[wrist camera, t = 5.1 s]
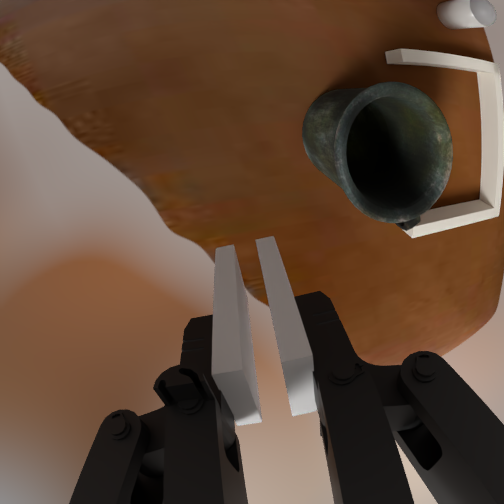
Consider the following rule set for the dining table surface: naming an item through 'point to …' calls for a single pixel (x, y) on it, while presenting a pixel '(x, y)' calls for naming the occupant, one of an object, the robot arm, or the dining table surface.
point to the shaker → (466, 14)
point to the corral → (493, 141)
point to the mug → (381, 149)
